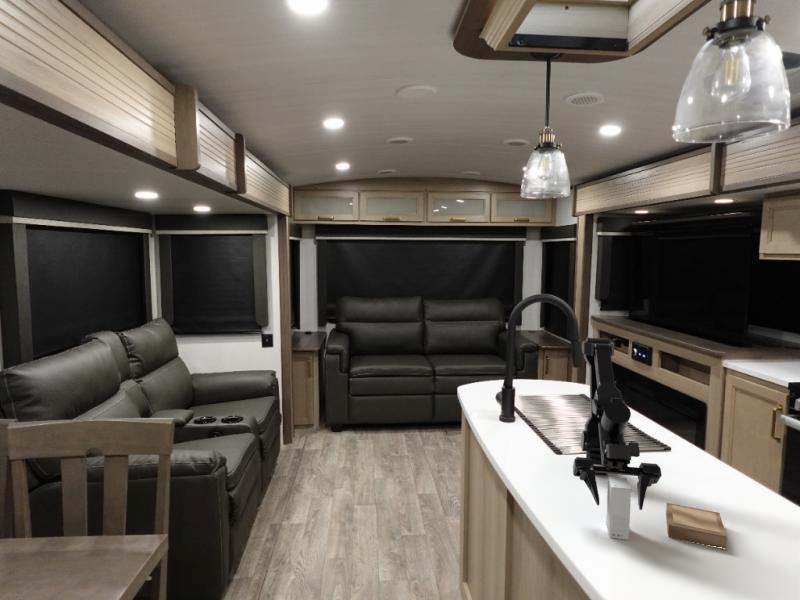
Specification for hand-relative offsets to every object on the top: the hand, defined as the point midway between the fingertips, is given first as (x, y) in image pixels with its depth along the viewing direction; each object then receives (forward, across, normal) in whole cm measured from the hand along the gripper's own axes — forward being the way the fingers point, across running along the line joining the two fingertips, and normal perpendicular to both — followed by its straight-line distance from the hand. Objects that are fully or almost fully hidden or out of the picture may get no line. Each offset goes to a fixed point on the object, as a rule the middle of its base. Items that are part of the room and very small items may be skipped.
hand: (619, 507), depth 111 cm
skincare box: (+4, 0, +6) cm, 7 cm away
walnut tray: (+1, +17, +9) cm, 19 cm away
